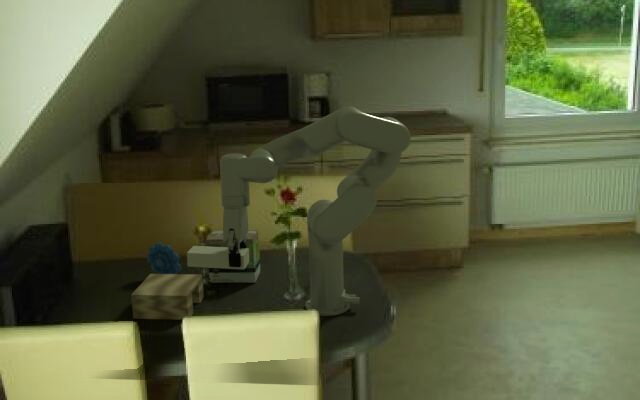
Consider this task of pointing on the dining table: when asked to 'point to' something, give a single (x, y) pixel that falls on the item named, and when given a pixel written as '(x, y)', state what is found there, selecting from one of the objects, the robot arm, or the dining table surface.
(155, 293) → the oak box
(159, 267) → the grapes
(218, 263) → the cover board
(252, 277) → the tea box
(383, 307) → the dining table surface
